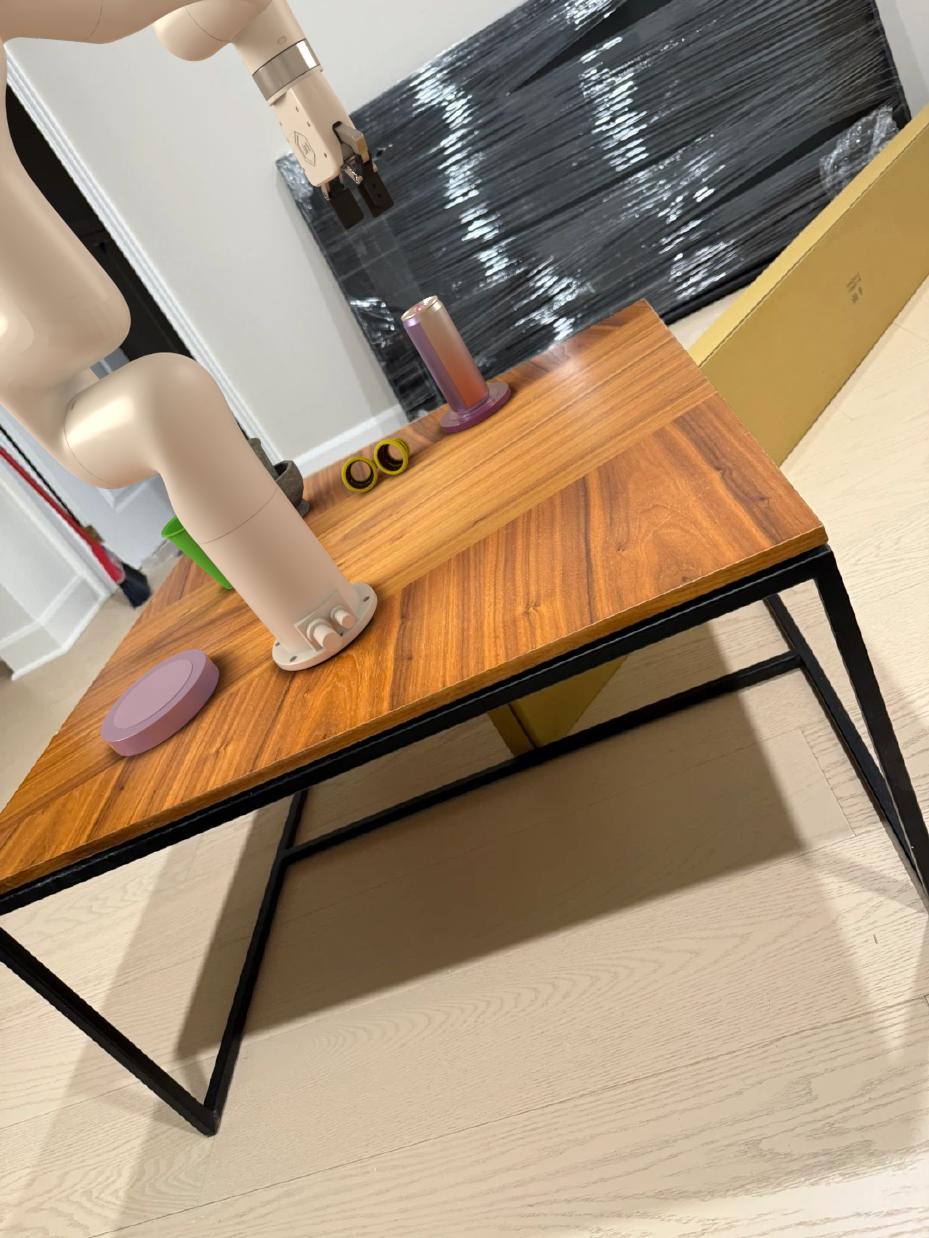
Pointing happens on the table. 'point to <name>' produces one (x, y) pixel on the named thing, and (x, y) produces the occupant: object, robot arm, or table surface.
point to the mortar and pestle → (284, 477)
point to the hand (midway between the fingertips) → (369, 218)
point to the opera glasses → (377, 464)
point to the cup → (192, 550)
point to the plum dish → (477, 410)
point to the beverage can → (445, 355)
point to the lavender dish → (160, 702)
